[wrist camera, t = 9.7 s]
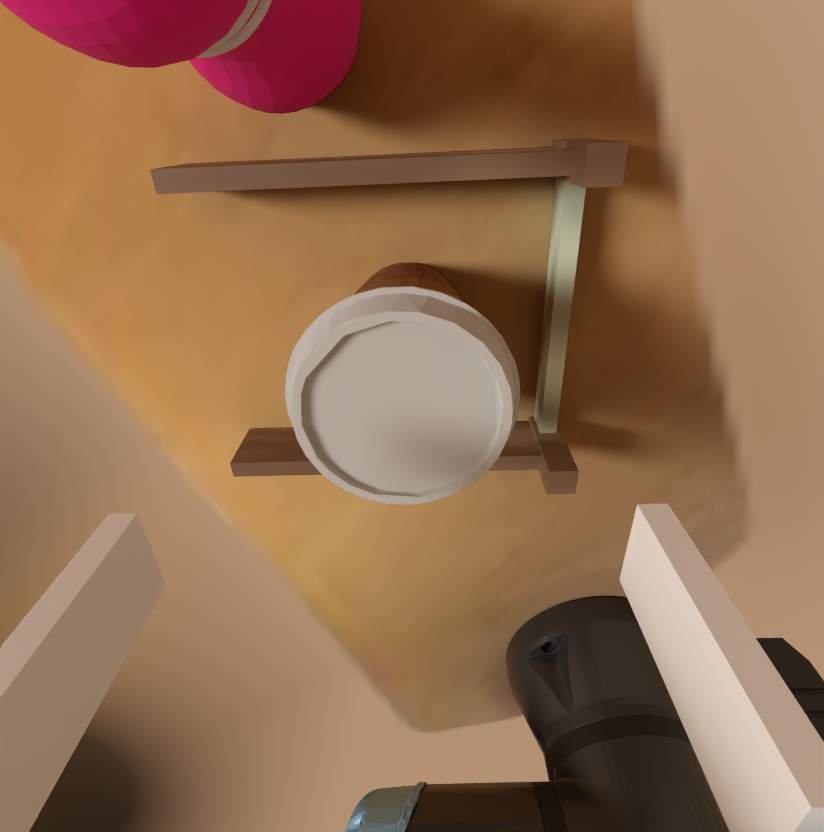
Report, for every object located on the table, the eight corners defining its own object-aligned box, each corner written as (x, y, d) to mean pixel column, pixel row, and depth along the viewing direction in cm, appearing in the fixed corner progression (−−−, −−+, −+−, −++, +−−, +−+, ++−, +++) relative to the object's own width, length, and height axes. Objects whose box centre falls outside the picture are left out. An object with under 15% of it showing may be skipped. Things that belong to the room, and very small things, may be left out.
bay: (551, 437, 34) (575, 493, 29) (253, 444, 34) (223, 501, 29) (586, 138, 25) (629, 141, 20) (185, 157, 26) (124, 165, 20)
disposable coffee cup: (465, 208, 27) (494, 260, 16) (504, 365, 31) (546, 484, 21) (301, 262, 28) (232, 341, 18) (360, 404, 33) (333, 533, 22)
